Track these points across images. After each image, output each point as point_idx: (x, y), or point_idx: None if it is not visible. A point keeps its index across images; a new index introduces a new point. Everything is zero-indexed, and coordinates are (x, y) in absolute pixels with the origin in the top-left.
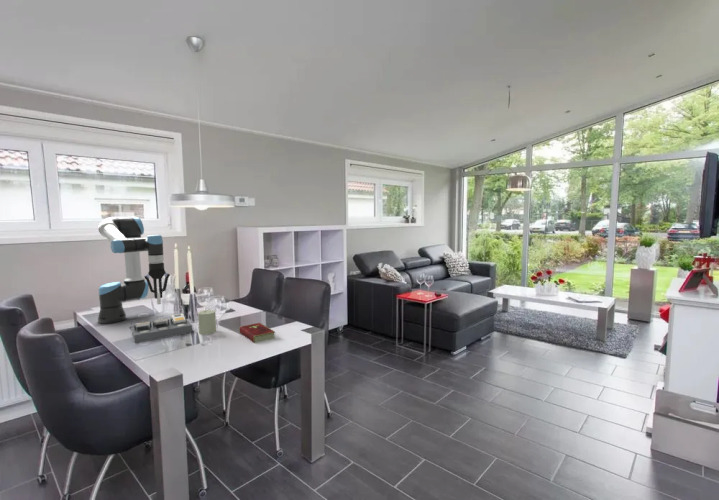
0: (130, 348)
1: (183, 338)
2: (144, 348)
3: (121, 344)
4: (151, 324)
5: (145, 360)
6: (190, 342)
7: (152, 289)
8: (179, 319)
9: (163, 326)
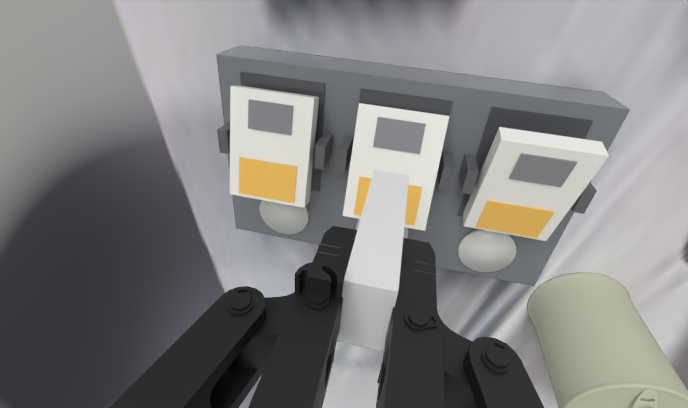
0: (236, 256)
1: (439, 299)
2: (281, 290)
3: (201, 184)
4: (348, 74)
5: None
6: None
7: (239, 397)
8: (509, 226)
9: None
